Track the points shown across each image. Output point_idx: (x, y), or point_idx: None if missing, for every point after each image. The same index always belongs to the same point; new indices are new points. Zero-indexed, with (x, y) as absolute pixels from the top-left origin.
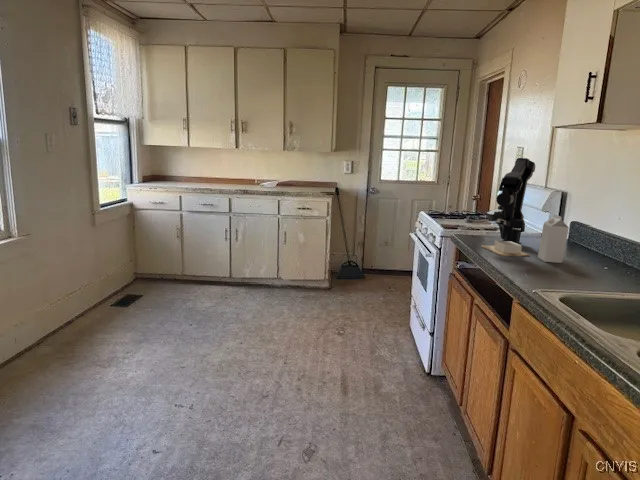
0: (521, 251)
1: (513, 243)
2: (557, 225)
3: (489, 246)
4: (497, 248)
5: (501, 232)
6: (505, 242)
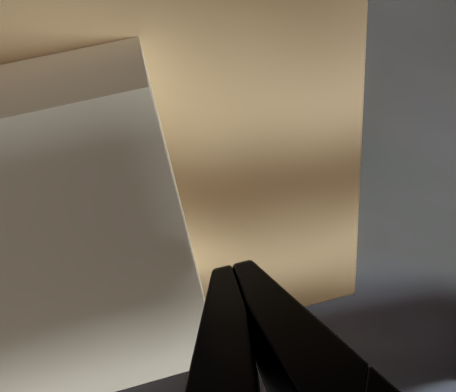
0: None
1: (38, 370)
2: None
3: (297, 7)
4: (5, 72)
5: (282, 367)
6: (65, 272)
